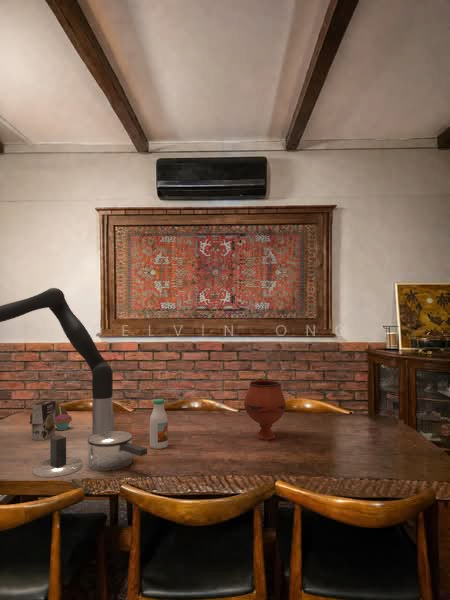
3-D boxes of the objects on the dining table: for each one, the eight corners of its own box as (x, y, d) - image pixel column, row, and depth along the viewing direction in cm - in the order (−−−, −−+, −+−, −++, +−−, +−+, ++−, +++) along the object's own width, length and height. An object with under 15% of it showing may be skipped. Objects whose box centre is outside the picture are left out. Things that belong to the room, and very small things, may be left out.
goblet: (256, 429, 206) (255, 377, 207) (292, 434, 196) (292, 380, 197) (237, 439, 190) (236, 383, 190) (276, 446, 180) (275, 387, 180)
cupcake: (49, 430, 206) (49, 406, 206) (60, 426, 214) (60, 402, 215) (65, 431, 204) (65, 406, 204) (75, 427, 212) (75, 403, 213)
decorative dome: (26, 427, 214) (26, 407, 215) (32, 417, 233) (32, 399, 234) (67, 423, 220) (67, 404, 220) (69, 414, 239) (69, 397, 239)
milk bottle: (150, 450, 176) (150, 402, 176) (149, 444, 183) (148, 398, 184) (169, 448, 178) (168, 400, 178) (166, 443, 185) (166, 397, 186)
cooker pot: (114, 453, 172) (114, 428, 173) (161, 468, 155) (161, 440, 155) (78, 464, 159) (79, 438, 160) (125, 482, 142) (125, 452, 143)
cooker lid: (66, 457, 168) (66, 428, 168) (91, 467, 157) (91, 436, 158) (24, 470, 154) (24, 439, 155) (48, 481, 144) (48, 448, 144)
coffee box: (43, 440, 190) (44, 404, 191) (31, 439, 191) (31, 404, 192) (55, 434, 199) (56, 400, 200) (43, 434, 200) (43, 400, 201)
